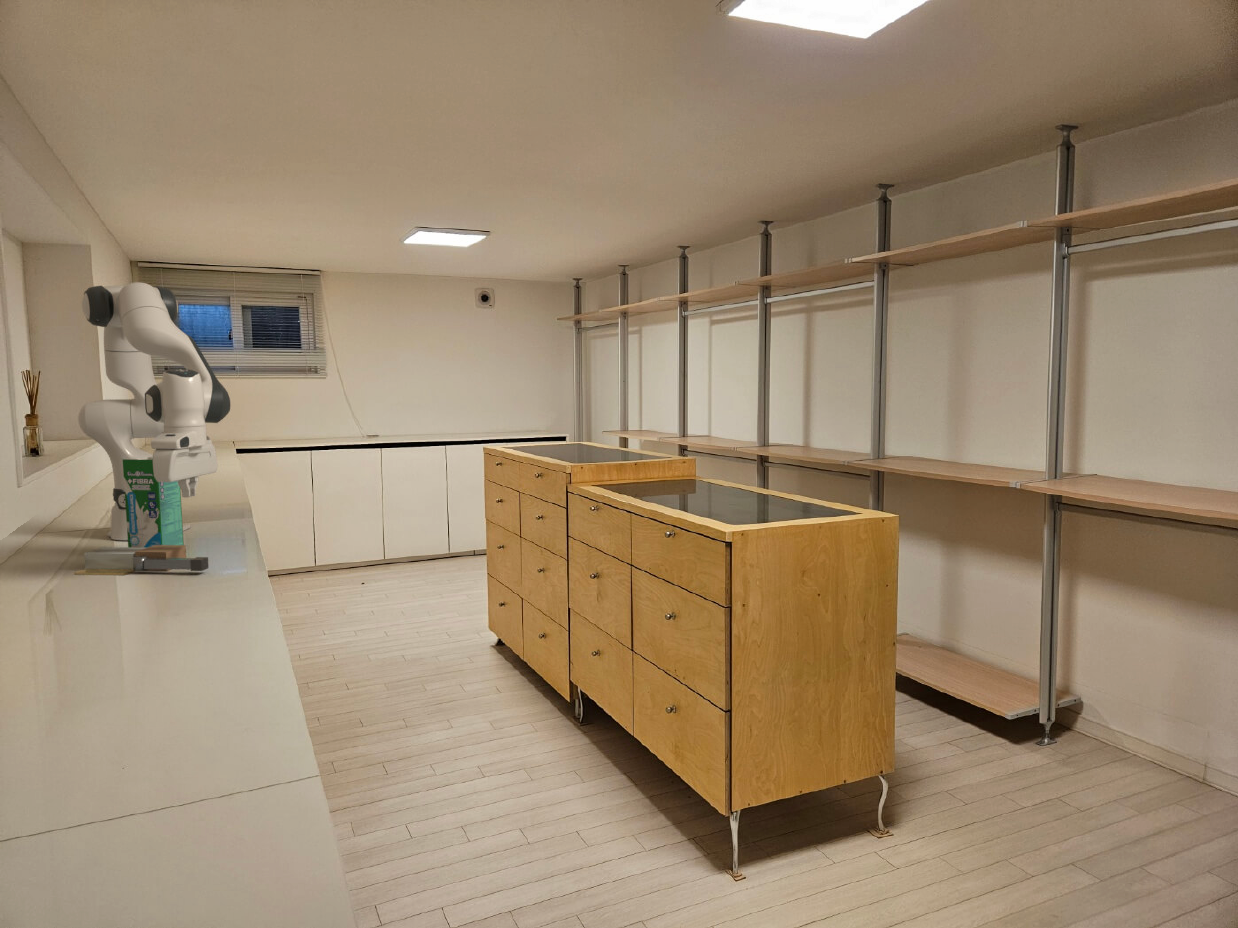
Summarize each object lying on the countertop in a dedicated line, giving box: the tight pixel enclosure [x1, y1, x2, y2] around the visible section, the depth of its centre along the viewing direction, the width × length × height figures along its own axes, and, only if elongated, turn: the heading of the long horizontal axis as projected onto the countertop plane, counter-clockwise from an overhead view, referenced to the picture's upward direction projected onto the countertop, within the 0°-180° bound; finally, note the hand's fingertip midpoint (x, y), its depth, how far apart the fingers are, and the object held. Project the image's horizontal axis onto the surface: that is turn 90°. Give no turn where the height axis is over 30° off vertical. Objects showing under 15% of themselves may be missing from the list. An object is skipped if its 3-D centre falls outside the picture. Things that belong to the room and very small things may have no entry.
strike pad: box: [73, 568, 135, 576], centre depth 192 cm, size 4×12×1 cm, turn 86°
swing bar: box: [133, 555, 209, 572], centre depth 191 cm, size 17×3×3 cm, turn 86°
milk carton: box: [123, 457, 185, 548], centre depth 211 cm, size 9×9×25 cm
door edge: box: [83, 544, 188, 572], centre depth 198 cm, size 8×20×4 cm, turn 86°
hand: (189, 496), depth 196 cm, fingers closed
